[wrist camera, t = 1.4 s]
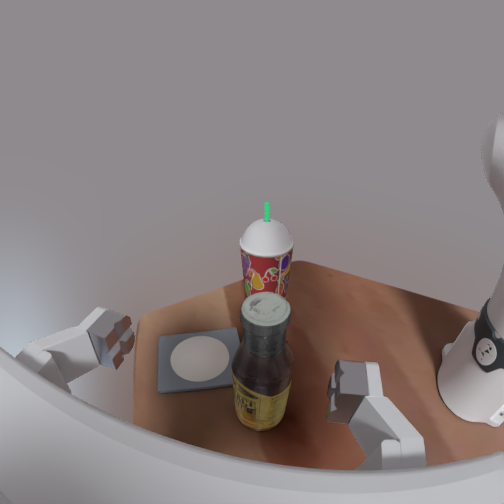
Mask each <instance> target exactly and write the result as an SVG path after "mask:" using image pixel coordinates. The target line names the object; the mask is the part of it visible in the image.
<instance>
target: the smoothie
mask: <svg viewBox="0 0 504 504" xmlns="http://www.w3.org/2000/svg"><path fill="white" fill-rule="evenodd" d="M239 245H240V247H241V258H242V267H243V275H244V285H245V293H246V298H247V297H249V296H251V295H253V294H255V293H260V292H270V293H275V294H278V295H280V296H282V297H284V298H285V300H286V294H287V288H288V281H289V274H290V267H291V259H292V251H293V246H294V241H293V238H292V237H291V236H290V234H289V231H288V230H287V228H286V227H285V226H284V225H283V224H282V223H281V222H279V221H277V220H275V219H271V218H269V202H265V218H262V219H259V220H256V221H254V222H253V223H251V224H250V225H249V226H248V228H247V229H246V230H245V232H244V234H243V236H242V237H241V239H240V241H239Z"/></svg>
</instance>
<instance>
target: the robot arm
mask: <svg viewBox="0 0 504 504" xmlns="http://www.w3.org/2000/svg"><path fill="white" fill-rule="evenodd" d="M481 159H482V165H483V169H484V173H485V176H486V178H487V181H488V183H489V185H490V187H491V188H492V190H493V191H494V193H495V194H496V196H497V198H498V200H499V202H500V204H501V207H502V210H503V213H504V113H500V114H498V115H497V116H496V117H495V118H493V120H492V121H491V122H490V123H489V125H488V126H487V129H486V131H485V133H484V136H483V140H482V146H481ZM131 324H132V323H131V320H130V317H128V316H127V315H124V314H121V313H118V312H114V311H112V310H108V309H106V308H103V307H97V308H96V309H95V310H94V311H93V312H92V313H91V314H90V315H89V316H88V317H86V318H85V319H84V320H83V322H82V323H81V324H79V325H78V327H71V328H69V329H66V330H63V331H60V332H57V333H54V334H51V335H48V336H45V337H43V338H40V339H37V340H34V341H31V342H30V343H29V344H28V345H27V346H26V347H25V348H24V349H23V350H22V351H21V352H20V353H19V354H18V355H17V356H16V357H15V358H14V357H13V356H12V355H10V354H9V353H8V352H6V351H5V350H4V349H2V348H1V347H0V504H504V452H496V453H492V454H489V455H485V456H481V457H477V458H472V459H468V460H463V461H458V462H453V463H447V464H441V465H434V466H427V465H426V456H425V449H424V442H423V437H422V436H421V435H420V434H419V433H418V432H417V430H416V429H415V428H414V427H413V426H412V425H411V424H410V422H409V421H408V420H407V419H406V418H405V417H404V416H403V415H402V413H401V412H400V411H399V410H398V409H397V408H396V407H395V405H394V404H393V403H392V402H391V401H390V400H389V399H388V398H387V397H383V391H382V384H381V377H380V370H379V365H378V363H373V362H360V361H350V360H340V359H338V360H337V362H336V365H335V373H333V374H332V375H331V378H330V380H329V385H328V391H327V398H328V400H329V403H328V405H327V408H326V422H334V423H344V424H348V426H349V428H350V430H351V431H352V433H353V435H354V437H355V438H356V440H357V442H358V443H359V445H360V447H361V448H362V450H363V452H364V453H365V455H366V457H367V459H366V460H365V461H364V462H363V463H362V464H361V465H360V466H359V467H358V468H357V469H356V470H329V469H315V468H304V467H295V466H287V465H280V464H273V463H267V462H261V461H255V460H250V459H245V458H240V457H236V456H231V455H227V454H223V453H219V452H215V451H211V450H208V449H204V448H200V447H197V446H193V445H190V444H187V443H184V442H181V441H177V440H174V439H171V438H169V437H166V436H163V435H160V434H157V433H155V432H152V431H149V430H147V429H144V428H142V427H139V426H137V425H134V424H132V423H129V422H127V421H125V420H122V419H120V418H118V417H116V416H113V415H111V414H109V413H107V412H105V411H103V410H101V409H98V408H97V407H95V406H93V405H91V404H88V403H87V402H85V401H83V400H81V399H79V398H77V397H76V396H74V395H72V394H71V390H70V389H69V387H68V385H67V383H68V382H70V381H72V380H74V379H76V378H78V377H79V376H81V375H83V374H85V373H87V372H89V371H90V370H92V369H94V368H96V367H98V366H99V365H103V366H106V367H109V368H111V369H114V370H117V369H118V367H119V366H120V364H121V363H122V362H123V360H124V356H123V355H125V354H128V353H129V352H130V351H131V349H132V348H133V345H134V342H135V336H134V332H133V331H132V329H131V328H130V325H131ZM438 388H439V392H440V394H441V397H442V399H443V401H444V402H445V404H446V405H447V407H448V408H449V409H450V410H451V411H452V412H453V413H454V414H456V415H457V416H459V417H460V418H462V419H464V420H467V421H471V422H484V423H487V424H489V425H491V426H493V427H498V426H500V425H501V423H502V422H503V421H504V265H503V268H502V272H501V274H500V277H499V280H498V282H497V285H496V287H495V290H494V292H493V294H492V296H491V298H489V299H488V300H487V301H486V303H485V305H484V306H483V307H482V309H481V311H480V312H479V315H478V317H477V319H476V320H473V321H471V322H470V321H469V322H468V323H467V324H466V325H465V327H464V328H463V330H462V331H461V333H460V334H459V336H458V337H457V339H456V340H455V342H454V343H449V344H446V345H445V346H444V348H443V349H442V364H441V366H440V369H439V372H438ZM500 415H501V416H500Z"/></svg>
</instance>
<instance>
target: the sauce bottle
mask: <svg viewBox="0 0 504 504" xmlns="http://www.w3.org/2000/svg"><path fill="white" fill-rule="evenodd" d="M290 316H291V308H290V305H289V303H288V302H287V301H286V300H285V298H284V297H282V296H280V295H278V294H275V293H270V292H260V293H255V294H253V295H251V296H249V297H247V298H246V299H245V301H244V302H243V304H242V306H241V314H240V319H241V323H242V325H243V337H242V341H241V343H240V345H239V347H238V349H237V351H236V353H235V355H234V357H233V360H232V363H231V369H232V379H233V390H234V400H235V409H236V414H237V416H238V418H239V420H240V422H241V423H242V424H243V425H244V426H246V427H247V428H248V429H250V430H254V431H267V430H270V429H272V428H273V427H275V426H276V425H277V424H278V423H279V422H280V421H281V419H282V418H283V415H284V412H285V408H286V403H287V399H288V395H289V390H290V385H291V381H292V371H293V366H294V356H293V352H292V350H291V347H290V346H289V344H288V342H287V341H286V328H287V327H288V325H289V323H290Z"/></svg>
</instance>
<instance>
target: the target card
mask: <svg viewBox="0 0 504 504" xmlns="http://www.w3.org/2000/svg"><path fill="white" fill-rule="evenodd" d="M239 345H240V341H239V336H238V332H237V328H236V327H235V328H228V329H220V330H212V331H204V332H195V333H186V334H177V335H166V336H159V349H158V388H157V391H158V393H169V392H182V391H193V390H203V389H211V388H219V387H227V386H233V379H232V369H231V363H232V360H233V357H234V355H235V353H236V351H237V349H238V347H239Z"/></svg>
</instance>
